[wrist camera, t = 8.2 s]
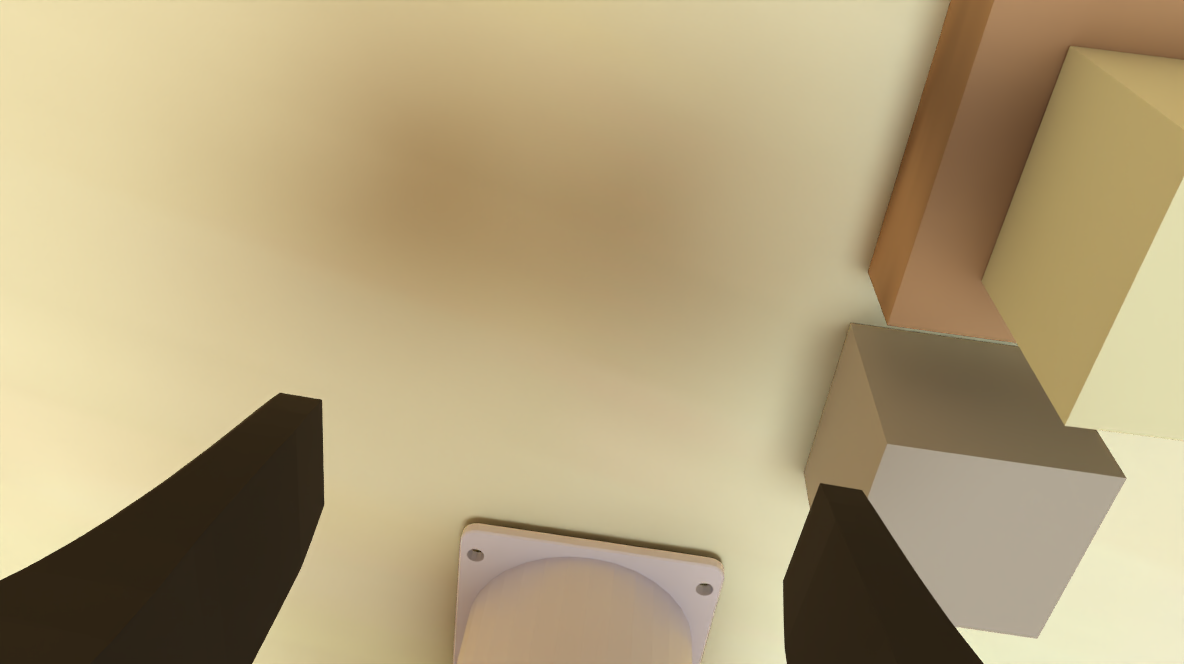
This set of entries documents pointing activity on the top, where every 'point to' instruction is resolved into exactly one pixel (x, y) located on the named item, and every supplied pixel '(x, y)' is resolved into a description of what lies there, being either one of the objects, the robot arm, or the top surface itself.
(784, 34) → the top surface
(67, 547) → the robot arm
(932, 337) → the slate cube
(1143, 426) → the beige cube
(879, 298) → the walnut slab
